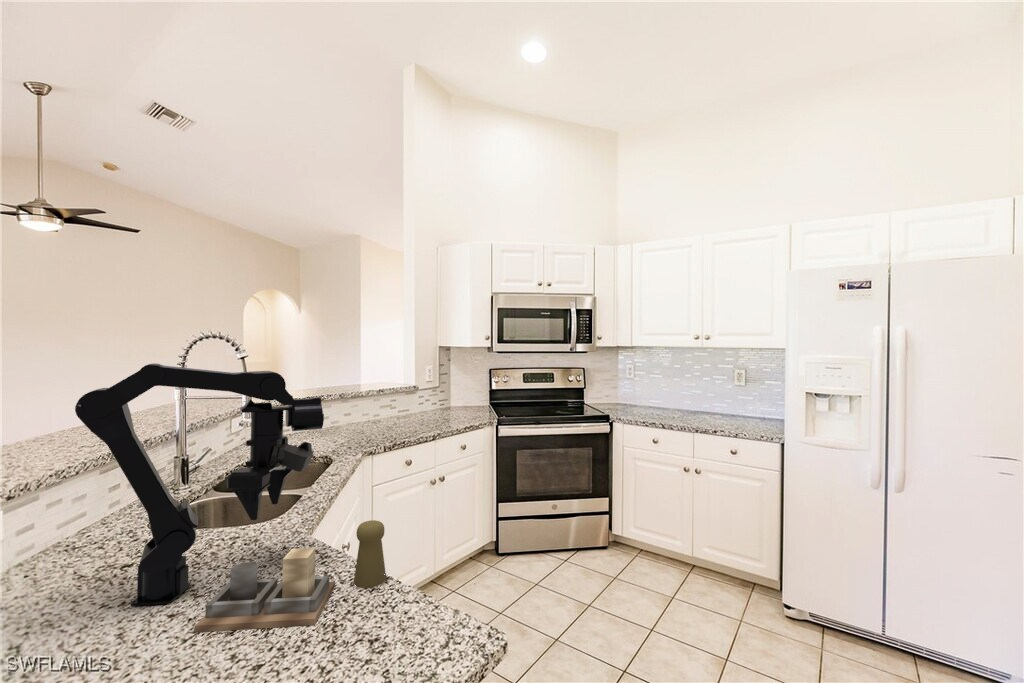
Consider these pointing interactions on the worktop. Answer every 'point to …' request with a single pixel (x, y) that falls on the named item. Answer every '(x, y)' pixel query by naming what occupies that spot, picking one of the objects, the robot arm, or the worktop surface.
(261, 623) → the board
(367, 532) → the olive green peg figure
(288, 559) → the maple pin
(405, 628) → the worktop surface
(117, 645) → the worktop surface
